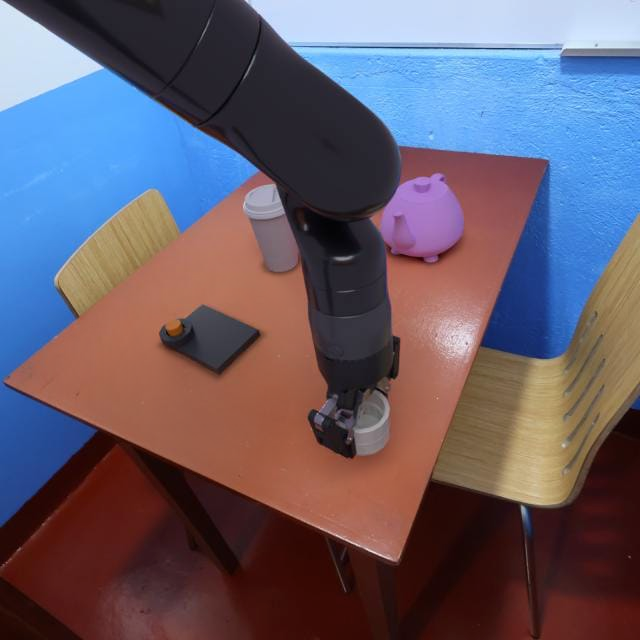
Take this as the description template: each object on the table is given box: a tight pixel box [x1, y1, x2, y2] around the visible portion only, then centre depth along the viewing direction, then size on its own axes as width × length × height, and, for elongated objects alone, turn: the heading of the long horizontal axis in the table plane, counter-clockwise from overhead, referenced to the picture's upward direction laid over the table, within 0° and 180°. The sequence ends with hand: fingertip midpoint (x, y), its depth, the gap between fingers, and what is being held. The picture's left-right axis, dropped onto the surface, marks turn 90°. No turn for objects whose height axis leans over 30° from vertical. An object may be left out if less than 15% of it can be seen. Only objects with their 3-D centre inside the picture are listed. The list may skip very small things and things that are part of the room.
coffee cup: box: [242, 183, 299, 273], centre depth 89 cm, size 10×10×15 cm
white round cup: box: [339, 390, 392, 457], centre depth 53 cm, size 6×6×5 cm
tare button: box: [165, 318, 184, 336], centre depth 79 cm, size 3×3×2 cm
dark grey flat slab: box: [158, 303, 261, 376], centre depth 79 cm, size 11×14×3 cm
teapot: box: [379, 172, 465, 263], centre depth 87 cm, size 22×16×14 cm
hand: (363, 431), depth 55 cm, fingers closed on white round cup, 6 cm apart
